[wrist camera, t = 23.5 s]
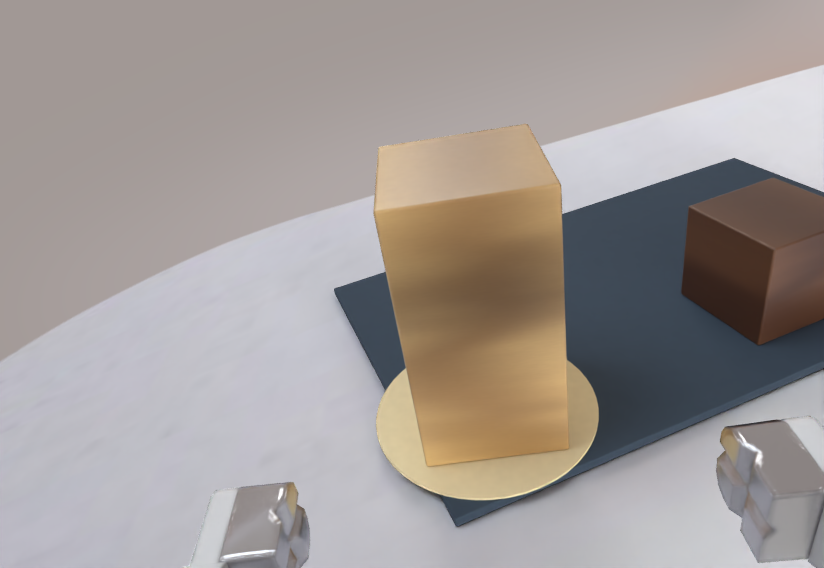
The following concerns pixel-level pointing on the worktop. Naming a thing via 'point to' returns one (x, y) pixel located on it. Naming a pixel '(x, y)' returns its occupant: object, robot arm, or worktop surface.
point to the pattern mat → (602, 347)
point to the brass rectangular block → (477, 291)
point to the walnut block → (757, 259)
